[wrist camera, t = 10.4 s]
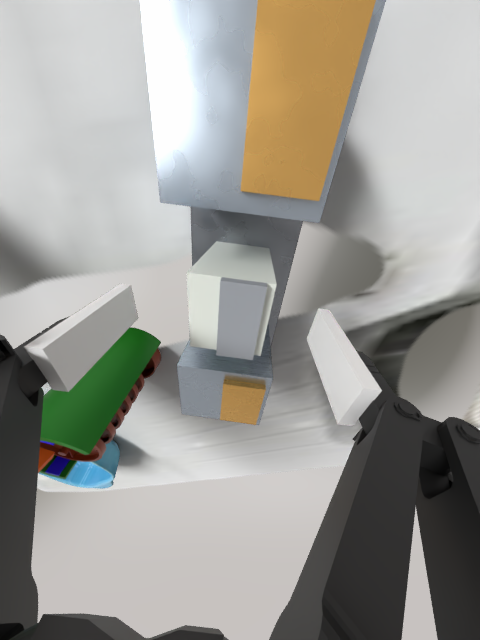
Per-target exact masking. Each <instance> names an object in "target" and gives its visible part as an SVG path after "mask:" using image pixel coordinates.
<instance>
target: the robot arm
mask: <svg viewBox="0 0 480 640" xmlns="http://www.w3.org/2000/svg"><path fill="white" fill-rule="evenodd" d="M137 319H138V315H137V310H136V306H135V301H134V297H133V292H132V288H131V285H127V284H119V285H117V286H116V287H114V288H113V289H111V290H110V291H108V292H106V293H105V294H103V295H102V296H100V297H99V298H97V299H96V300H94V301H93V302H91V303H90V304H88V305H87V306H85V307H84V308H82V309H81V310H79V311H78V312H76V313H75V314H73V315H72V316H69V317H67V318H64V319H62V320H59V321H57V322H56V323H54V324H53V325H51V326H50V327H49V328H46V329H45V330H43V331H42V333H39V334H37V335H36V336H34V337H32V338H31V339H29V340H28V341H26V342H25V343H23V344H21V345H20V346H18V347H17V348H15V349H13V348H12V346H11V345H10V344H9V342H8V341H7V340H6V338H5V337H4V336H2V335H0V640H228V639H227V638H225V637H224V635H223V634H222V632H221V631H220V630H219V629H213V628H204V627H196V626H187V625H185V626H182V627H179V628H177V629H174V630H171V631H168V632H166V633H163V634H160V635H157V636H155V637H152V638H144V637H142V636H141V635H140V634H139V633H137V632H136V631H134V630H133V629H132V628H130V627H129V626H128V625H126V624H125V623H123V622H122V621H121V620H119V619H118V618H116V617H108V616H99V615H90V614H43V616H42V618H41V620H40V622H39V623H37V617H38V616H37V615H38V593H37V586H36V584H35V581H34V579H33V576H32V572H31V557H32V545H33V532H34V531H33V530H34V517H35V505H36V491H37V478H38V464H39V451H40V437H41V424H42V410H43V397H44V392H43V390H42V388H41V387H42V386H43V385H44V384H45V383H47V382H48V384H49V385H50V387H51V388H52V389H53V390H57V391H66V392H69V391H70V390H71V389H72V388H73V387H74V386H75V385H76V384H77V383H78V381H79V380H80V379H81V378H82V377H83V376H84V375H85V374H86V373H87V372H88V371H89V370H90V369H91V368H92V367H93V366H94V365H95V363H96V362H97V361H98V360H99V359H100V358H101V357H102V356H103V355H104V354H105V353H106V352H107V351H108V350H109V349H110V348H111V347H112V345H113V344H114V343H115V342H116V341H117V340H118V339H119V338H120V337H121V336H122V335H123V334H124V333H125V332H126V331H127V330H128V329H129V327H130V326H131V325H132V324H133V323H134V322H135V321H136V320H137ZM307 342H308V344H309V347H310V350H311V353H312V355H313V358H314V361H315V364H316V366H317V369H318V372H319V375H320V377H321V380H322V383H323V386H324V388H325V391H326V394H327V397H328V399H329V402H330V405H331V408H332V410H333V413H334V416H335V419H336V421H337V424H338V425H346V426H354V425H355V423H356V422H357V421H358V420H359V421H360V423H361V425H362V427H363V428H362V429H361V430H360V431H359V432H358V433H357V434H356V436H355V437H354V438H353V440H354V441H355V440H356V441H355V443H354V446H353V448H352V450H351V453H350V455H349V458H348V460H347V463H346V465H345V467H344V470H343V473H342V475H341V477H340V480H339V482H338V485H337V487H336V490H335V492H334V495H333V497H332V499H331V502H330V504H329V507H328V509H327V512H326V514H325V516H324V519H323V521H322V524H321V527H320V529H319V531H318V534H317V536H316V538H315V541H314V543H313V546H312V548H311V550H310V553H309V555H308V558H307V560H306V563H305V565H304V568H303V570H302V573H301V575H300V577H299V580H298V582H297V585H296V587H295V590H294V592H293V594H292V597H291V599H290V601H289V603H288V605H287V606H286V608H285V609H284V611H283V612H282V614H281V616H280V617H279V619H278V621H277V623H276V625H275V628H274V630H273V632H272V634H271V637H270V639H269V640H401V638H402V628H403V619H404V610H405V600H406V591H407V581H408V571H409V563H410V553H411V544H412V534H413V525H414V515H415V506H416V509H417V515H418V521H419V526H420V533H421V539H422V545H423V552H424V558H425V564H426V570H427V576H428V582H429V588H430V594H431V601H432V607H433V613H434V619H435V625H436V631H437V637H438V640H480V430H478V429H477V428H476V427H474V426H473V425H471V424H469V423H468V422H466V421H464V420H462V419H458V418H455V417H449V418H447V419H446V420H445V421H444V422H442V423H441V422H439V421H436V420H433V419H430V418H428V417H425V416H423V415H422V414H421V413H420V411H419V410H418V409H417V408H416V407H415V406H414V405H413V404H411V403H410V402H408V401H407V400H404V399H402V398H400V397H397V396H396V395H395V393H394V392H393V391H392V389H391V388H390V386H389V385H388V383H387V382H386V381H385V379H384V378H383V376H382V375H381V374H380V372H379V371H378V369H377V368H375V365H374V364H373V362H372V361H371V359H370V358H369V357H367V356H366V355H365V354H364V353H363V352H358V351H356V350H355V349H354V347H353V345H352V344H351V342H350V341H349V339H348V338H347V336H346V335H345V333H344V332H343V330H342V329H341V327H340V326H339V324H338V323H337V321H336V319H335V318H334V316H333V315H332V313H331V312H330V310H327V309H319V308H318V310H317V313H316V316H315V318H314V321H313V323H312V326H311V329H310V331H309V334H308V337H307Z"/></svg>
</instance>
